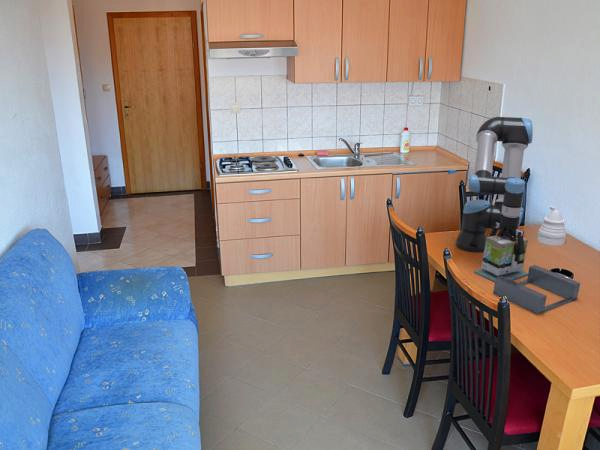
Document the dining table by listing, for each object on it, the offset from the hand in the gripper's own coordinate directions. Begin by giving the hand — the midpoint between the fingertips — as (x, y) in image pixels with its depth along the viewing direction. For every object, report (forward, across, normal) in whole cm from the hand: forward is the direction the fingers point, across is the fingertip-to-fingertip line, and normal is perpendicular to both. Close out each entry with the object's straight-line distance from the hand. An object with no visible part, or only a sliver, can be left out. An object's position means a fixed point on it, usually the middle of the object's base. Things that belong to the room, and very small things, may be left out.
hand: (502, 263), depth 233 cm
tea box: (+3, 0, 0) cm, 3 cm away
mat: (+5, 0, 0) cm, 5 cm away
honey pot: (+5, -14, +56) cm, 58 cm away
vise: (+5, +21, -3) cm, 22 cm away
